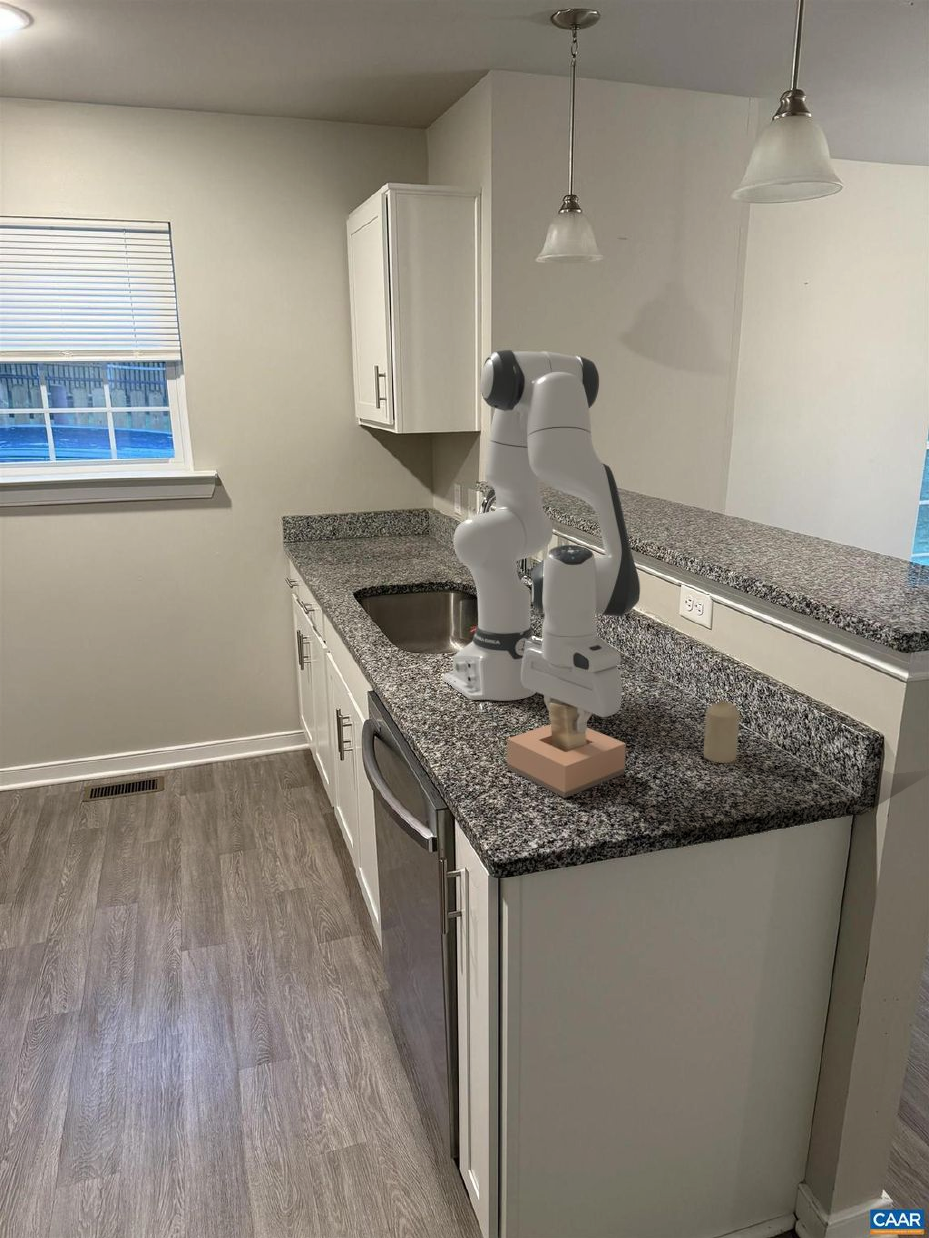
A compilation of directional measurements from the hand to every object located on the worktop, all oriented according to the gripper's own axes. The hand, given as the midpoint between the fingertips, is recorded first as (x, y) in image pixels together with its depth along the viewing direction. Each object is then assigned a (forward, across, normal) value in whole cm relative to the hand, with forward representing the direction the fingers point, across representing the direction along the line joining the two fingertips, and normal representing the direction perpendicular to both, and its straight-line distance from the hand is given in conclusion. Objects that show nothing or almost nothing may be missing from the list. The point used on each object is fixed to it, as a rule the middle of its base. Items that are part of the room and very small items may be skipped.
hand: (567, 725), depth 140 cm
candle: (+9, +13, +25) cm, 29 cm away
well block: (+8, 0, 0) cm, 8 cm away
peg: (+6, +1, 0) cm, 6 cm away
